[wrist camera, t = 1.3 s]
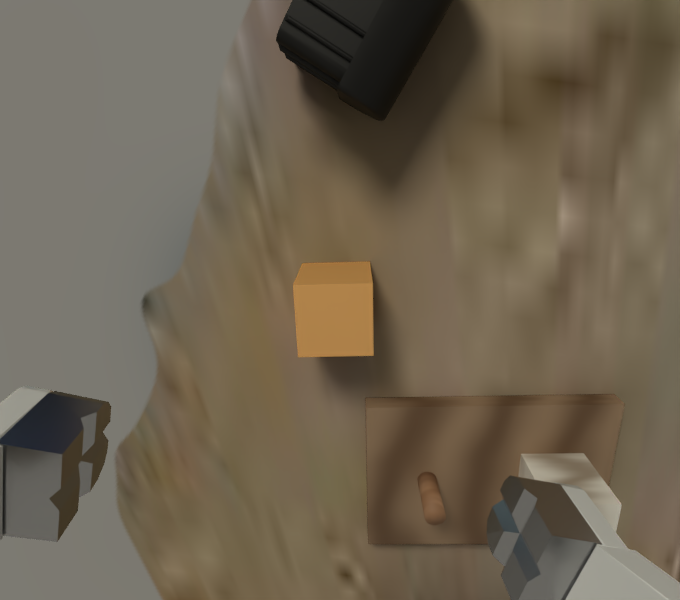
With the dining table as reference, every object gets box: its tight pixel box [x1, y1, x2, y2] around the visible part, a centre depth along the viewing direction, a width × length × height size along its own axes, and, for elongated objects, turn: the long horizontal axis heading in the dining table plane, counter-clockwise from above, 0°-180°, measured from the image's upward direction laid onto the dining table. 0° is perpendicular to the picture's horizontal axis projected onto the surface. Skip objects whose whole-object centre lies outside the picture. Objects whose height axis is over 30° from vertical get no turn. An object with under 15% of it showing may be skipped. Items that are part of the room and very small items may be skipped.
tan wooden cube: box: [293, 261, 374, 357], centre depth 32 cm, size 5×5×6 cm
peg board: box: [365, 394, 625, 544], centre depth 36 cm, size 20×14×7 cm
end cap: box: [276, 0, 453, 121], centre depth 25 cm, size 10×7×7 cm
